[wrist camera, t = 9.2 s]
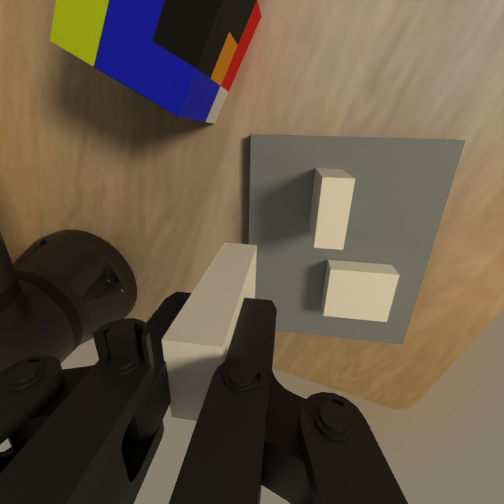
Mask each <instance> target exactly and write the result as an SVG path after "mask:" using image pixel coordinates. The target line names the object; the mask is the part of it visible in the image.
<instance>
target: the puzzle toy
mask: <svg viewBox="0 0 504 504" xmlns="http://www.w3.org/2000/svg"><path fill="white" fill-rule="evenodd" d="M260 18H261V13H260V10H259V6H258V2H257V0H56V5H55V11H54V17H53V23H52V29H51V35H50V41H51V42H53V43H55V44H56V45H58V46H60V47H61V48H63V49H65V50H66V51H68V52H70V53H71V54H73V55H75V56H76V57H78V58H80V59H81V60H83V61H85V62H86V63H88V64H90V65H91V66H93V67H95V68H96V69H98V70H100V71H101V72H103V73H105V74H107V75H108V76H110V77H112V78H113V79H115V80H117V81H118V82H120V83H122V84H123V85H125V86H127V87H128V88H130V89H132V90H133V91H135V92H137V93H138V94H140V95H142V96H143V97H145V98H147V99H148V100H150V101H152V102H153V103H155V104H157V105H158V106H160V107H162V108H163V109H165V110H167V111H169V112H170V113H172V114H174V115H175V116H177V117H179V118H185V119H190V120H196V121H202V122H208V123H213V124H215V121H216V119H217V117H218V115H219V112H220V110H221V108H222V105H223V103H224V101H225V98H226V96H227V94H228V92H229V89H230V87H231V85H232V82H233V80H234V78H235V76H236V73H237V71H238V69H239V66H240V64H241V62H242V59H243V57H244V55H245V53H246V50H247V48H248V46H249V43H250V41H251V39H252V37H253V34H254V32H255V30H256V27H257V25H258V23H259V21H260Z"/></svg>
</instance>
